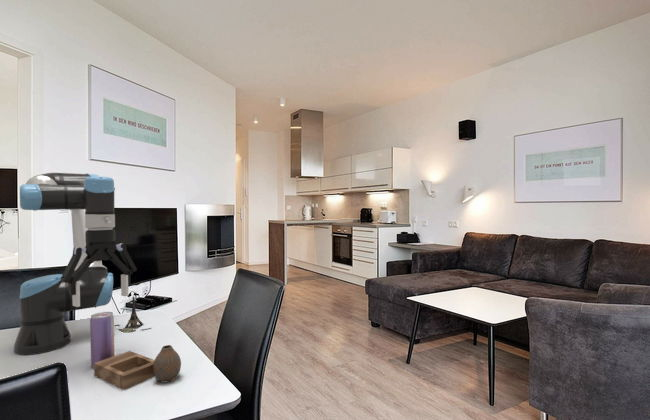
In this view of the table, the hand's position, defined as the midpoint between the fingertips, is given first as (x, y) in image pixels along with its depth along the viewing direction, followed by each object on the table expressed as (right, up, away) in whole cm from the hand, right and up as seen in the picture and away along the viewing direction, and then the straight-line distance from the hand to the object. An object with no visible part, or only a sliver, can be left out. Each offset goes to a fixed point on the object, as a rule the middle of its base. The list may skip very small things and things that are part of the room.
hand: (101, 300), depth 108 cm
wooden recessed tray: (+11, -19, -7) cm, 23 cm away
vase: (+23, -19, -9) cm, 32 cm away
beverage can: (0, -19, 0) cm, 19 cm away
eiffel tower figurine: (-9, -20, +34) cm, 41 cm away
